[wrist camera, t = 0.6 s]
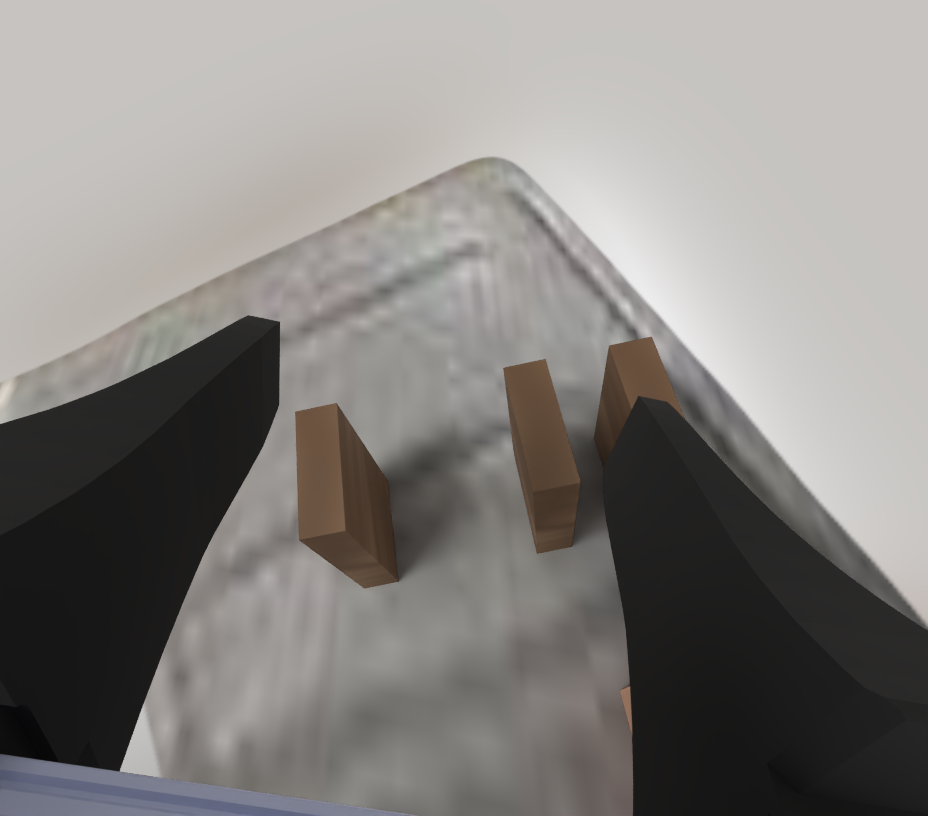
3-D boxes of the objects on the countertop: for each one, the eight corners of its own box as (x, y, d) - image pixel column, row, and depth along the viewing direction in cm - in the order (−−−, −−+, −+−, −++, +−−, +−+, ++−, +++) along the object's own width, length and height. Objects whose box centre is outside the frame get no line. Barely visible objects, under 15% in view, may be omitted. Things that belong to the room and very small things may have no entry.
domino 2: (545, 447, 29) (545, 359, 22) (571, 546, 26) (580, 482, 19) (514, 454, 29) (503, 367, 22) (537, 553, 26) (533, 492, 19)
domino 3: (626, 431, 29) (651, 336, 22) (659, 528, 26) (700, 458, 19) (594, 437, 29) (609, 345, 22) (624, 536, 26) (652, 468, 19)
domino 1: (387, 480, 29) (336, 403, 22) (398, 581, 27) (345, 530, 20) (356, 486, 29) (295, 411, 22) (364, 588, 27) (299, 539, 20)
